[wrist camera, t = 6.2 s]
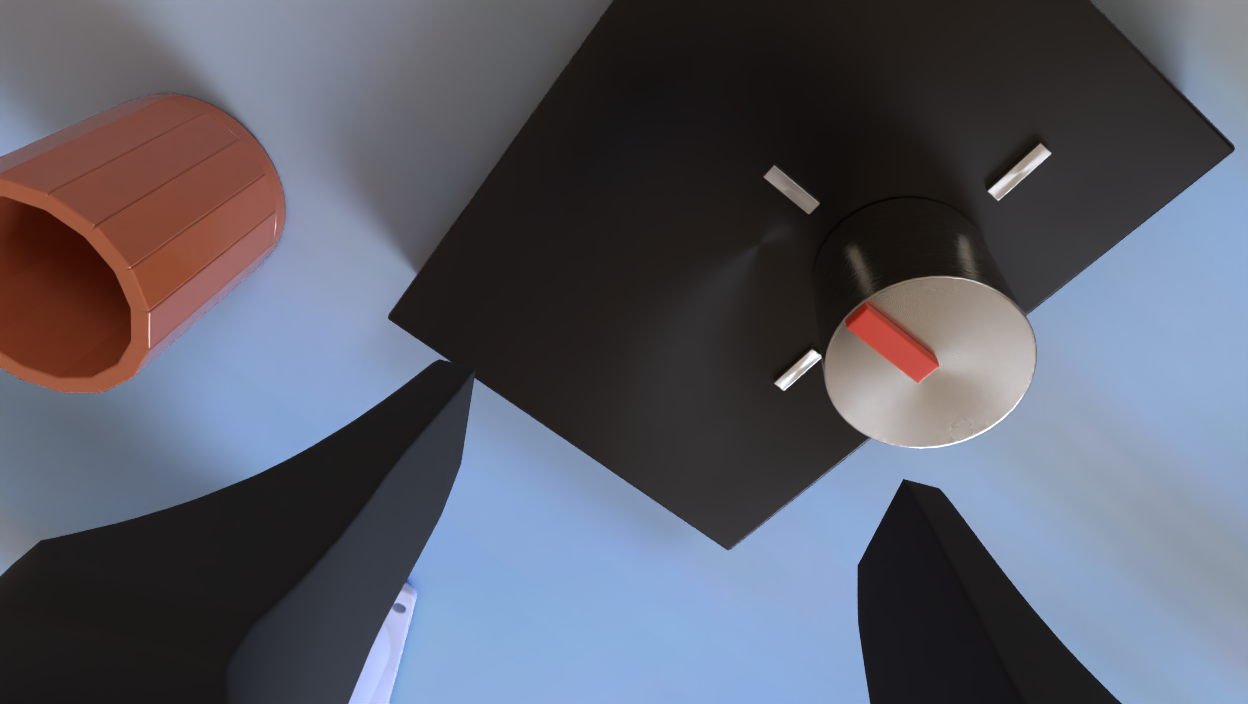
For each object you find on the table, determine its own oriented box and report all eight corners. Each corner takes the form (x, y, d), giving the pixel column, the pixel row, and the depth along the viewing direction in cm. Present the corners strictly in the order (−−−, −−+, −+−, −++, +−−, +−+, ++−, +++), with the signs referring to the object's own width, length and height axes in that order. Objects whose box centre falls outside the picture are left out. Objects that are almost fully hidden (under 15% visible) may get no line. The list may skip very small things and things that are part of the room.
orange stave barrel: (278, 294, 26) (149, 421, 20) (106, 237, 25) (-72, 350, 20) (294, 131, 23) (149, 227, 17) (101, 65, 23) (-108, 141, 17)
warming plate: (756, 515, 28) (756, 575, 26) (416, 277, 25) (383, 321, 23) (1217, 144, 20) (1275, 184, 18) (805, -266, 17) (813, -280, 15)
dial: (1027, 269, 20) (1088, 369, 16) (896, 378, 22) (924, 489, 18) (901, 161, 19) (937, 242, 15) (777, 285, 21) (781, 383, 17)
